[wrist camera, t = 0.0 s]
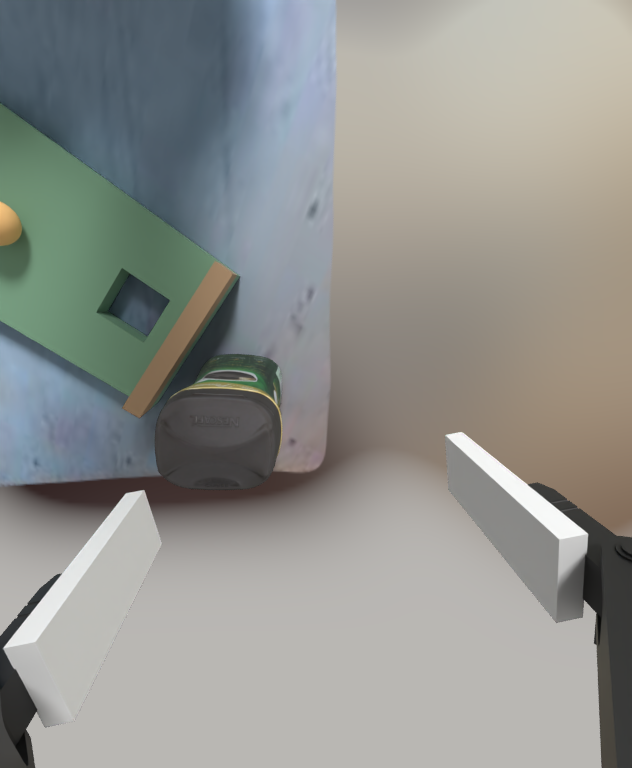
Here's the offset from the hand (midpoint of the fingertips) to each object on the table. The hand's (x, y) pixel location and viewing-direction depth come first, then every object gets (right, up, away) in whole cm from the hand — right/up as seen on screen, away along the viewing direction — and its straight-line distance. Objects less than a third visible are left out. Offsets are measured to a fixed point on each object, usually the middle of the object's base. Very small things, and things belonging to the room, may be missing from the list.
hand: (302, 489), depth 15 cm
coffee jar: (-8, +4, +27) cm, 29 cm away
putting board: (-24, +17, +22) cm, 37 cm away
